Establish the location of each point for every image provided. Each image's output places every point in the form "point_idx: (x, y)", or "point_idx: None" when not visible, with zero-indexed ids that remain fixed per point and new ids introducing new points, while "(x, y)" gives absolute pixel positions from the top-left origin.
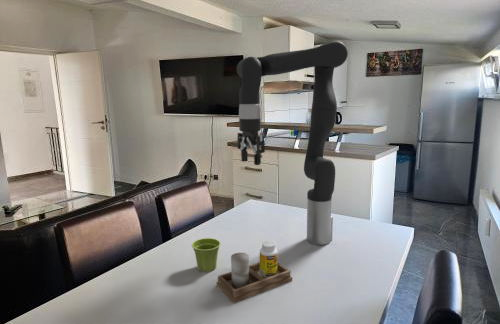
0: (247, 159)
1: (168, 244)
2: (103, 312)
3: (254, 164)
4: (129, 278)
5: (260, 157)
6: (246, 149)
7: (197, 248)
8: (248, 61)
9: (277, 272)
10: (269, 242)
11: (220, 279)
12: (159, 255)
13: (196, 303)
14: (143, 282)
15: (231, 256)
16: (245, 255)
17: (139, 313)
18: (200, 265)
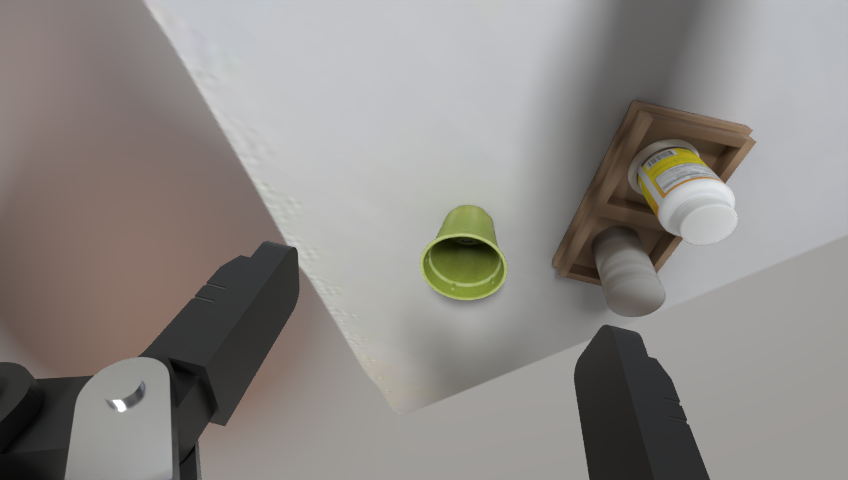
0: (285, 255)
1: (277, 208)
2: (458, 380)
3: (576, 372)
4: (388, 327)
5: (696, 452)
6: (174, 407)
7: (433, 260)
8: None
9: (686, 138)
10: (706, 216)
11: (573, 277)
12: (328, 253)
13: (563, 313)
14: (420, 322)
15: (612, 309)
16: (648, 287)
17: (503, 363)
18: (473, 257)
